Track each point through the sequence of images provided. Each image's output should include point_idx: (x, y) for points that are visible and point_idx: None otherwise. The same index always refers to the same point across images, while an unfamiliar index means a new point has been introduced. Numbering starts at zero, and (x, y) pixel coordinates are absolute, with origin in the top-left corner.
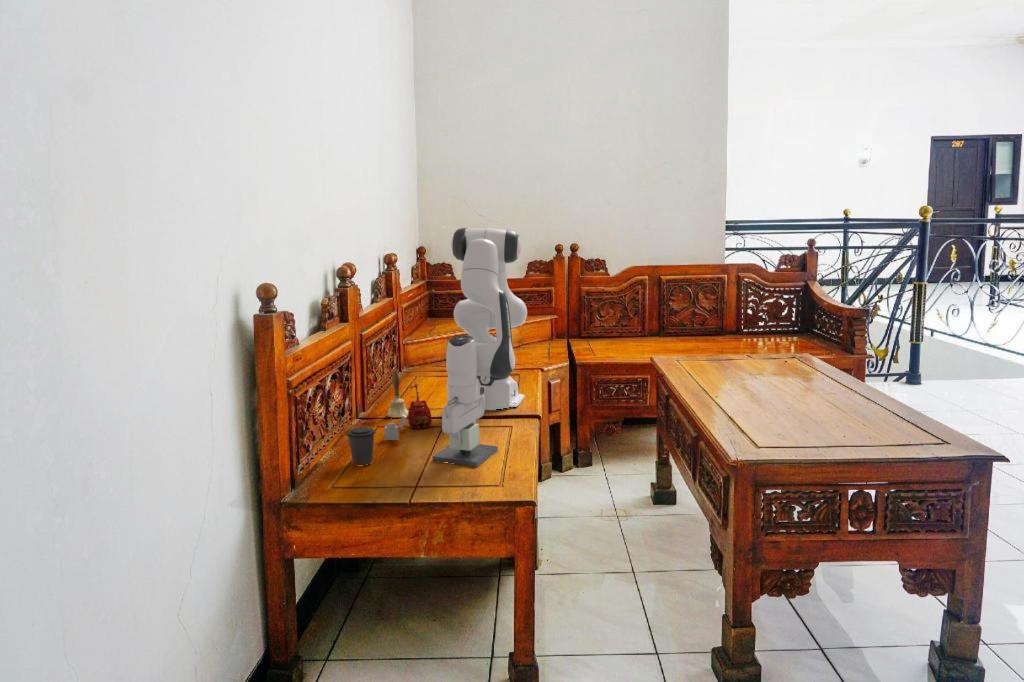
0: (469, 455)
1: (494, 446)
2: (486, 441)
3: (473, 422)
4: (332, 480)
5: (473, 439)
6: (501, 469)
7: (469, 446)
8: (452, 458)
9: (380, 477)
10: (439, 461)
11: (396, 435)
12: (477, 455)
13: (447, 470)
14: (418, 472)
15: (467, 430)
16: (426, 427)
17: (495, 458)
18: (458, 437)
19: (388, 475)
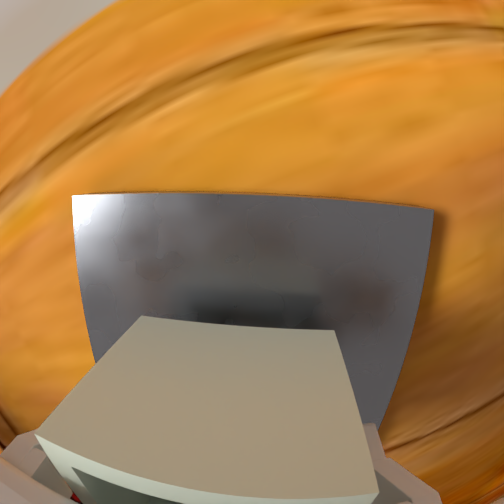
0: (317, 316)
1: (81, 215)
2: (22, 312)
3: (42, 470)
4: (478, 501)
5: (242, 373)
6: (394, 44)
7: (339, 351)
8: (390, 385)
9: (488, 463)
10: None
11: None
12: (300, 259)
13: (468, 341)
14: (474, 420)
15: (369, 500)
16: (72, 491)
17: (215, 143)
18: (405, 474)
19: (479, 460)
